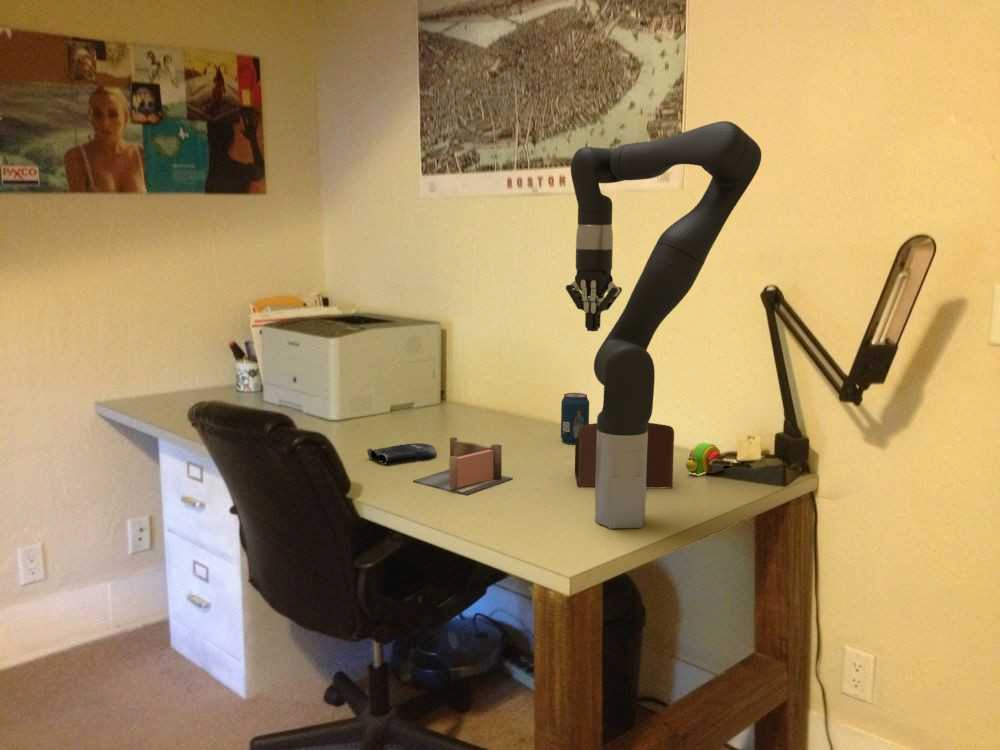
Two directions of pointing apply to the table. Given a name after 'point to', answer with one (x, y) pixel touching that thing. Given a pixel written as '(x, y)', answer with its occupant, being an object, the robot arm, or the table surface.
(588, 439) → the letter holder
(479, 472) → the swing panel
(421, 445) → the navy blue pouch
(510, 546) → the table surface
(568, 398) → the soda can
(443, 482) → the grey and brown panels
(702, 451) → the toy measuring tape
